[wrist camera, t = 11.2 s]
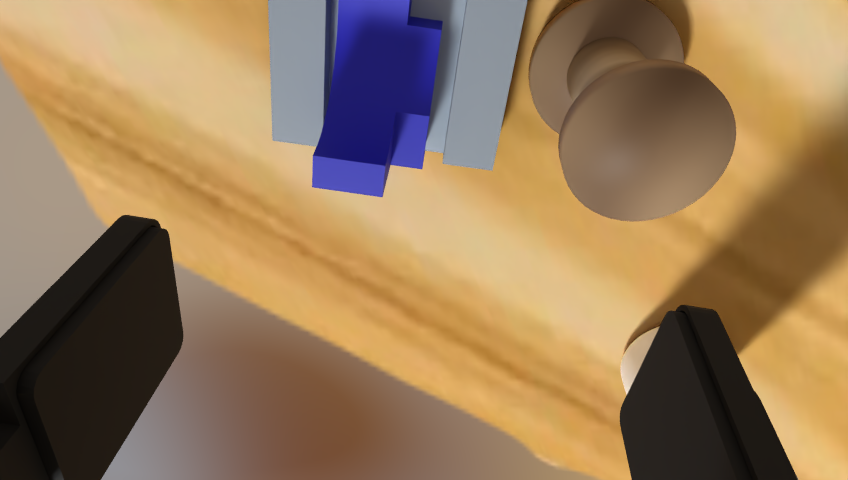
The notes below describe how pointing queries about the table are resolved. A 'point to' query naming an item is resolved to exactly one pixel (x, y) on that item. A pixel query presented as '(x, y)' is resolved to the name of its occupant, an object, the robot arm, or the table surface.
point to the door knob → (629, 110)
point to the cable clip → (377, 95)
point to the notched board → (454, 81)
